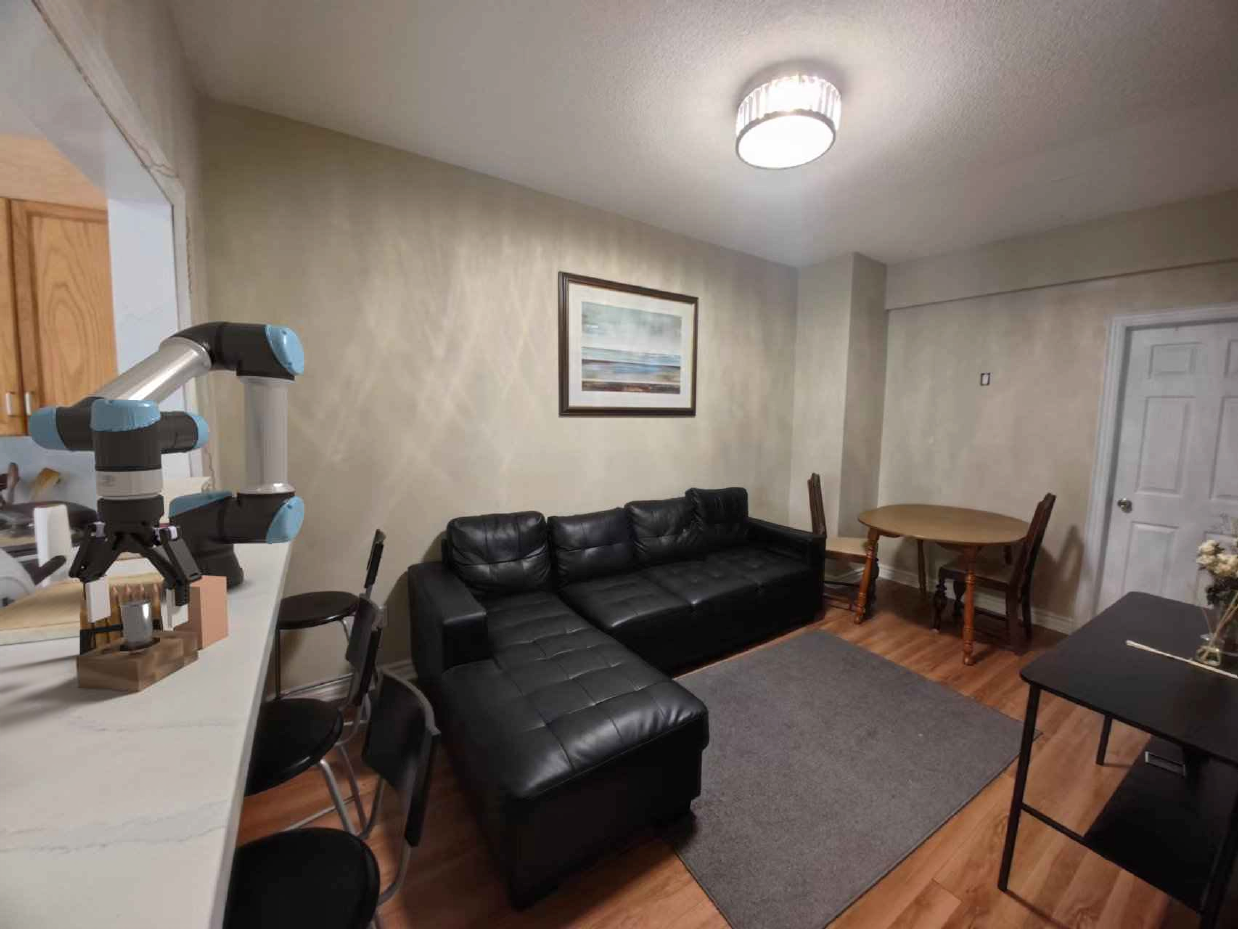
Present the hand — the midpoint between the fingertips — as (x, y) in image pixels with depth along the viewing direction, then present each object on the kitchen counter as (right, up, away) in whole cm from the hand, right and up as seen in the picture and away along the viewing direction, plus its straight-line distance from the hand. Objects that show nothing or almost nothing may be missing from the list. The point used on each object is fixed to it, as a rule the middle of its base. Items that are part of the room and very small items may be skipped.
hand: (138, 621), depth 78 cm
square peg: (0, -8, +12) cm, 14 cm away
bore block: (0, -9, +1) cm, 9 cm away
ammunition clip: (-11, -8, +8) cm, 16 cm away
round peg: (-1, -9, +1) cm, 9 cm away
